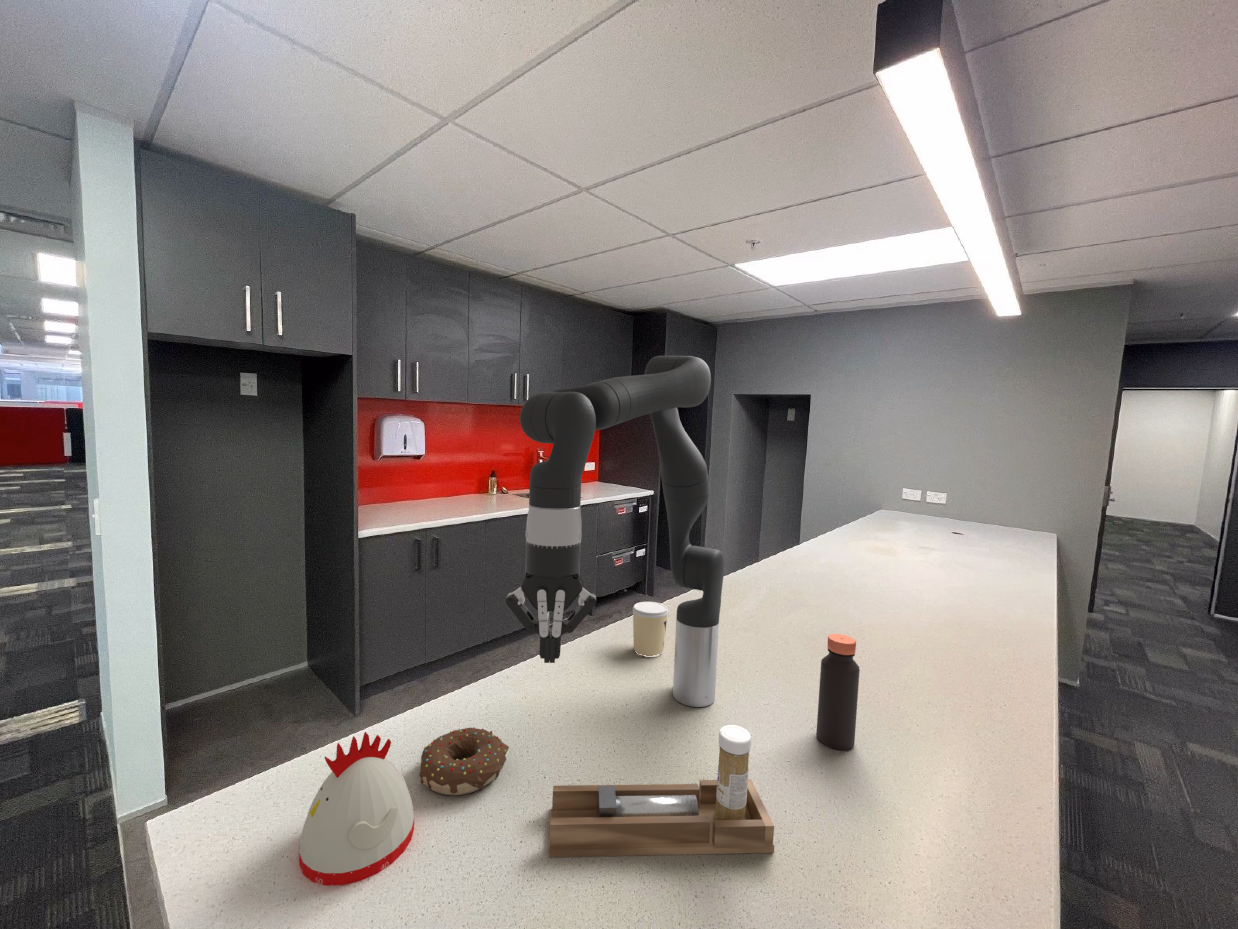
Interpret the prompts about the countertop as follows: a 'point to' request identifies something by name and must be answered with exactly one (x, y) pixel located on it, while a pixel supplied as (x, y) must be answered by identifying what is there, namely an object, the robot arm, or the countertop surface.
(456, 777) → the donut
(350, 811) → the kitchen timer
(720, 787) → the sprinkles bottle
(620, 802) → the shaft
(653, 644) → the coffee cup
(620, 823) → the tray
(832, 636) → the vinegar
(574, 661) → the countertop surface
